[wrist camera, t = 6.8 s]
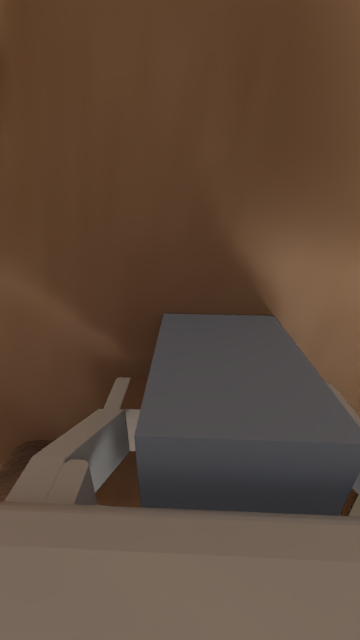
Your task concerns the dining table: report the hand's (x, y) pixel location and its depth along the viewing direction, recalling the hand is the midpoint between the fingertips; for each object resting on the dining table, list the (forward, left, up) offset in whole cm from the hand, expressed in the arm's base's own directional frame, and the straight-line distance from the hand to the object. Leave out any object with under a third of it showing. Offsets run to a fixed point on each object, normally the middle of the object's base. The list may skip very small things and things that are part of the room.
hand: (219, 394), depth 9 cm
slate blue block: (0, 0, -2) cm, 2 cm away
